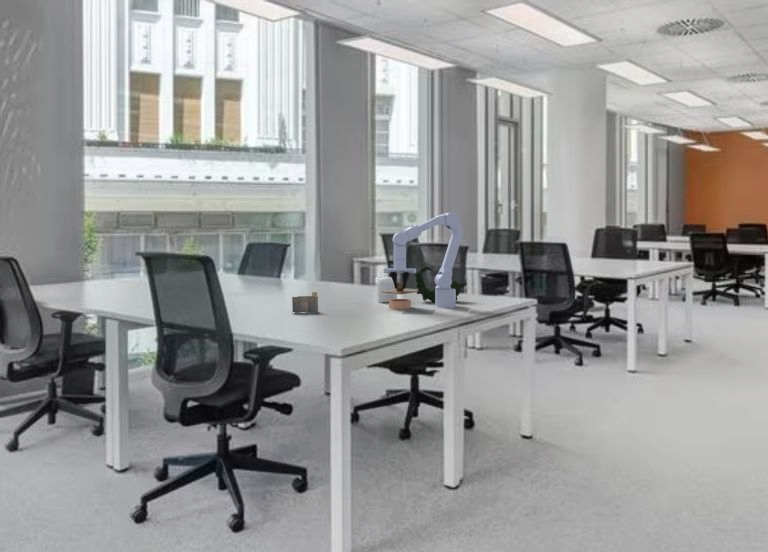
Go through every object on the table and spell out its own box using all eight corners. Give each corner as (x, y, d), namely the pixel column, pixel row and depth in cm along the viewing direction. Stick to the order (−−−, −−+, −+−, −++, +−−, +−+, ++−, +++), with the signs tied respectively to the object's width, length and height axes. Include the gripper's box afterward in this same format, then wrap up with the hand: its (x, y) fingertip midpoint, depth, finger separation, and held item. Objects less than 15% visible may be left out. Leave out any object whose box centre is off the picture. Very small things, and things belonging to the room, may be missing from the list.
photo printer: (393, 300, 346) (393, 276, 345) (398, 301, 342) (398, 276, 341) (376, 302, 340) (376, 277, 339) (381, 303, 337) (380, 278, 335)
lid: (418, 292, 315) (418, 282, 315) (400, 294, 307) (400, 285, 306) (399, 290, 324) (399, 281, 323) (381, 292, 315) (381, 283, 315)
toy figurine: (418, 306, 335) (469, 301, 335) (414, 268, 333) (465, 262, 333) (417, 304, 344) (466, 299, 344) (413, 266, 342) (463, 261, 342)
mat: (435, 311, 307) (435, 310, 307) (431, 315, 295) (431, 314, 295) (407, 310, 310) (407, 309, 310) (401, 315, 298) (401, 313, 297)
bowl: (412, 307, 320) (412, 299, 320) (408, 310, 311) (408, 301, 310) (391, 307, 322) (391, 298, 322) (387, 310, 313) (387, 301, 312)
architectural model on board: (318, 312, 311) (317, 291, 310) (318, 313, 308) (317, 292, 307) (293, 313, 310) (292, 291, 309) (292, 314, 307) (292, 292, 306)
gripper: (417, 258, 316) (417, 287, 318) (386, 258, 320) (386, 287, 321) (414, 259, 309) (414, 289, 311) (382, 259, 313) (383, 289, 314)
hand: (400, 288), depth 315 cm, fingers closed on lid, 3 cm apart
